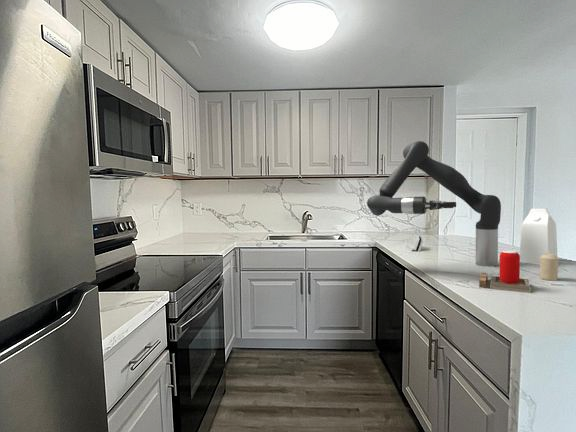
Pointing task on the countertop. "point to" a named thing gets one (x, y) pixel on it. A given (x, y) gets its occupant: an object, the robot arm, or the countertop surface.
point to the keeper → (510, 285)
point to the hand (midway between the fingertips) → (454, 204)
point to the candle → (549, 267)
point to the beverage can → (509, 267)
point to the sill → (483, 280)
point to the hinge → (415, 243)
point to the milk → (537, 236)
